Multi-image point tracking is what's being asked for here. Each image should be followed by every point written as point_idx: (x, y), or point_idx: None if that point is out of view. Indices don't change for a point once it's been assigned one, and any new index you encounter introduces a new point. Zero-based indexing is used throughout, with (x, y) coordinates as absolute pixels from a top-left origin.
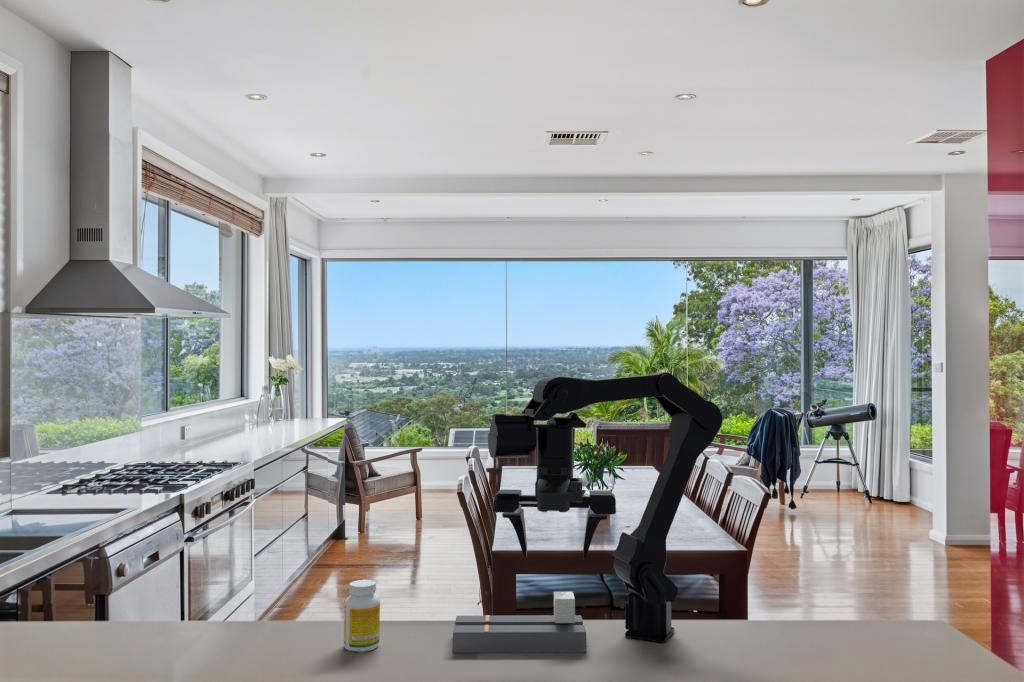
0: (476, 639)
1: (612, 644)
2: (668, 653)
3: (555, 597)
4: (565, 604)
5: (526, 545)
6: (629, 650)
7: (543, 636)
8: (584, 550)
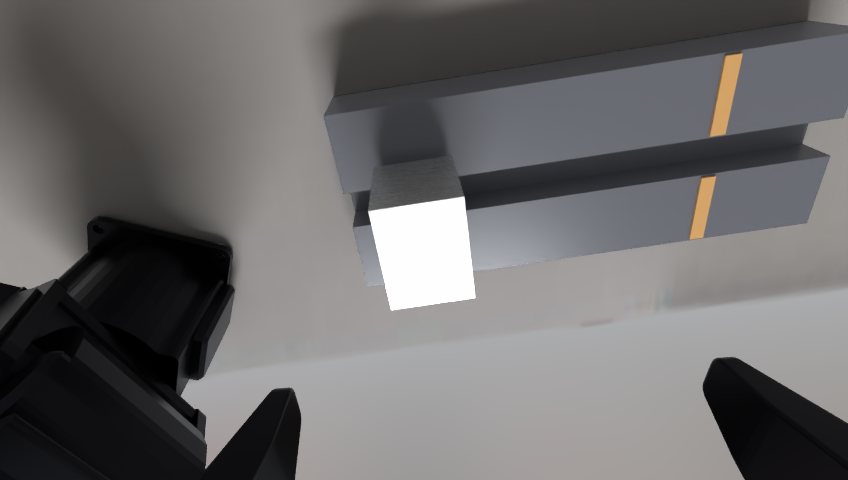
0: (754, 40)
1: (260, 185)
2: (53, 131)
3: (464, 220)
4: (413, 192)
5: (762, 448)
6: (191, 140)
7: (492, 85)
8: (264, 436)
